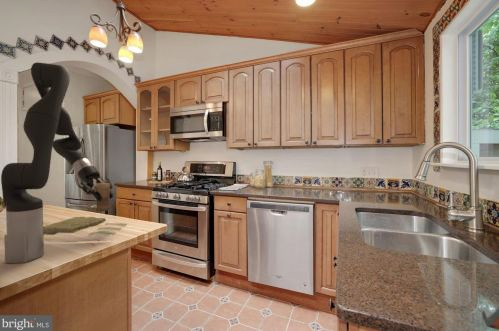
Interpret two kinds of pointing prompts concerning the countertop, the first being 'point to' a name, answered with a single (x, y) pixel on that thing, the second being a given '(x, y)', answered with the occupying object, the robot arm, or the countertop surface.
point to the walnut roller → (103, 196)
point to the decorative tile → (72, 225)
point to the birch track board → (108, 229)
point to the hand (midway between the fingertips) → (106, 198)
